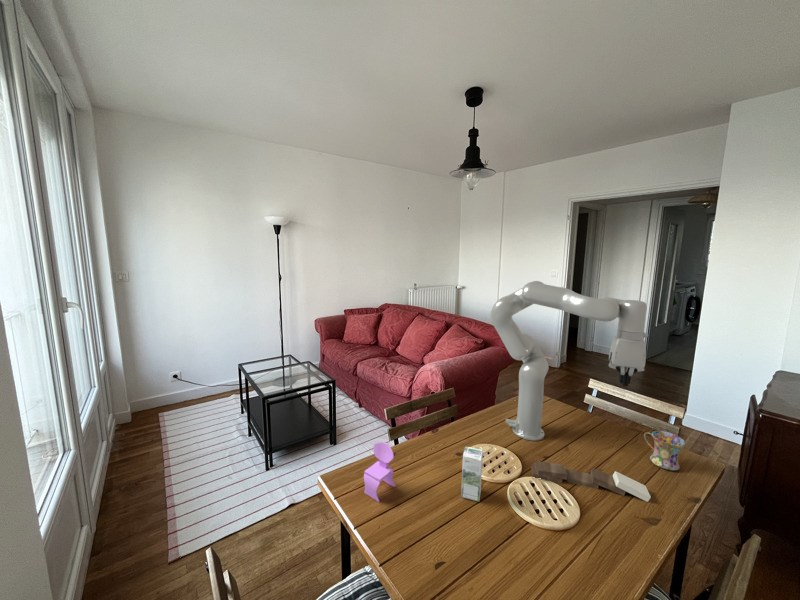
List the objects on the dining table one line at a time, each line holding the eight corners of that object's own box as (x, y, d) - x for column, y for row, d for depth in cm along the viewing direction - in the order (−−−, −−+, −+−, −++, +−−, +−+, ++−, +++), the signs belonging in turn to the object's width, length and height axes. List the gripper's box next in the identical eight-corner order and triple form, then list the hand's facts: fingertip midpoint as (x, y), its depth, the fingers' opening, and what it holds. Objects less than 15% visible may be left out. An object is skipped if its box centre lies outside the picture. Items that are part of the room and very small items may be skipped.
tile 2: (597, 490, 105) (566, 483, 109) (594, 480, 110) (565, 473, 113) (598, 485, 105) (567, 478, 108) (595, 475, 110) (565, 468, 113)
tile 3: (566, 479, 108) (538, 476, 109) (561, 469, 113) (534, 466, 114) (567, 474, 107) (538, 470, 109) (562, 464, 112) (534, 461, 114)
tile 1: (623, 495, 102) (592, 482, 106) (620, 485, 107) (590, 472, 111) (625, 490, 102) (594, 477, 105) (622, 480, 107) (592, 467, 110)
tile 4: (561, 485, 108) (532, 479, 111) (559, 474, 113) (531, 469, 115) (562, 479, 108) (532, 473, 110) (559, 469, 112) (531, 464, 115)
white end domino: (647, 502, 100) (616, 486, 103) (642, 490, 105) (612, 475, 107) (650, 497, 99) (619, 481, 102) (645, 485, 104) (615, 471, 107)
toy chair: (360, 492, 103) (360, 448, 101) (378, 477, 110) (378, 436, 108) (380, 504, 98) (380, 459, 96) (398, 488, 105) (398, 445, 103)
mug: (686, 468, 116) (690, 441, 114) (672, 476, 112) (677, 448, 110) (648, 450, 126) (651, 424, 125) (634, 456, 122) (638, 430, 121)
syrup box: (481, 489, 104) (483, 448, 102) (479, 503, 99) (481, 459, 97) (463, 485, 106) (465, 444, 104) (460, 498, 101) (462, 455, 99)
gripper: (650, 334, 115) (644, 383, 118) (602, 331, 120) (597, 378, 123) (660, 340, 108) (653, 392, 111) (608, 336, 113) (603, 385, 115)
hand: (624, 384), depth 117 cm, fingers closed
